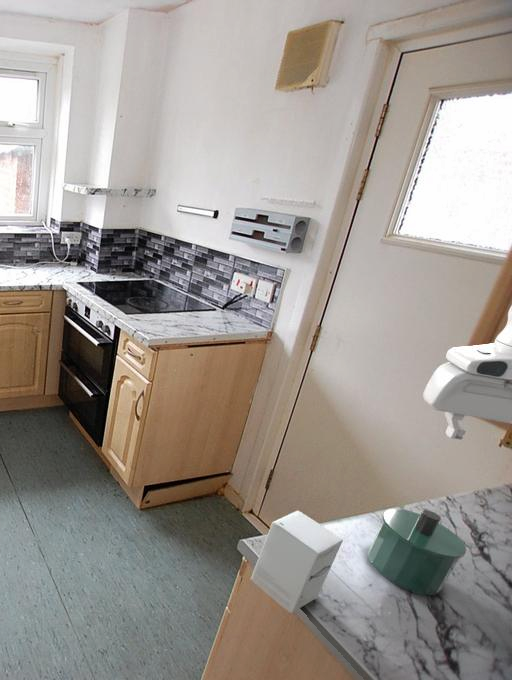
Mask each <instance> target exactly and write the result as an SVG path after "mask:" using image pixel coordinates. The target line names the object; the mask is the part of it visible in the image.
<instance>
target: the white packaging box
mask: <svg viewBox="0 0 512 680" xmlns="http://www.w3.org/2000/svg"><path fill="white" fill-rule="evenodd" d="M343 541H344V539H343V538H342V537H340V536H339V535H337V534H336V533H335V532H333V531H332V530H331V529H328V528H326V527H325V526H323V525H322V524H321V523H319V522H317V521H316V520H314V519H313V518H311V517H309V516H308V515H306V514H305V513H303V512H302V511H300V510H295V511H293V512H291V513H288V514H287V515H284V516H282V517H281V518H278V519H276V520H274V521H272V522H271V525H270V527H269V530H268V533H267V535H266V538H265V541H264V543H263V545H262V548H261V551H260V554H259V556H258V559H257V561H256V564H255V566H254V570H253V571H252V574H251V577H250V581H251V582H253V583H254V584H255V585H256V586H257V587H258V588H259V589H261V590H262V591H263V592H264V593H265V594H267V595H268V596H269V597H270V598H271V599H273V600H274V601H275V602H276V603H277V604H278V605H280V606H281V607H282V608H283V609H284V610H285V611H286V612H288V613H289V614H291V615H292V614H294V613H295V612H297V611H298V610H299V609H301V608H302V607H304V606H306V605H307V604H308V603H310V602H313V601H314V600H316V599H318V596H319V594H320V593H321V589H322V588H323V586H324V583H325V581H326V579H327V577H328V575H329V573H330V571H331V568H332V567H333V563H334V562H335V559H336V557H337V555H338V553H339V550H340V548H341V545H342V543H343Z"/></svg>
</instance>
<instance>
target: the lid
mask: <svg viewBox="0 0 512 680" xmlns="http://www.w3.org/2000/svg"><path fill="white" fill-rule="evenodd" d="M441 520H442V518H441V516H440V515H439V514H437V513H436V512H434V511H431V510H429V509H423V510H422V511H421V513H417V512H414V511H410V510H407V509H402V508H389V509H387V510H385V511H384V512H383V514H382V522H384V524H385V525H386V526H387V528H388V529H389V530H390V531H391V532H392V533H394V534H395V535H396V536H397V537H399V538H400V539H402V540H403V541H405V542H406V543H408V544H410V545H411V546H413V547H415V548H417V549H419V550H422V551H424V552H426V553H429V554H432V555H435V556H438V557H442V558H448V559H458V558H459V559H462V558H463V557H464V556H465V555H466V553H467V547H466V545H465V543H464V541H463V540H462V539H461V538H460V537H459V536H458V535H457V534H456V533H455V532H454V531H452V530H450V529H449V528H447V527H446V526H445V525H443V524H441V523H440V522H441Z"/></svg>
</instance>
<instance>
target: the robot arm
mask: <svg viewBox="0 0 512 680" xmlns="http://www.w3.org/2000/svg"><path fill="white" fill-rule="evenodd" d="M445 359H447V360H448V362H445V363H442V364H441V365H439V366H438V367H437V368H435V370H434V372H433V373H432V375H431V377H430V379H429V380H428V382H427V384H426V386H425V388H424V390H423V393H422V399H423V400H424V402H425V403H426V404H427V405H428V406H429V407H430V408H432V409H433V410H435V411H437V412H443V413H444V416H445V419H446V422H447V428H446V430H445V435H446V436H447V437H448V438H450V439H454V440H461V441H462V440H463V438H464V436H465V435H466V432H467V431H466V430H465V429H464V428H462V427H461V426H460V425H459V421H463V420H464V418H465V416H466V417H473V418H479V419H482V420H483V419H484V420H489V421H495V422H501V423H505V424H506V423H507V424H512V304H511V305H510V307H509V309H508V312H507V322H506V324H505V326H504V328H503V329H502V330H501V331H500V332H499V334H497V336H496V337H495V340H494V342H493V343H487V344H479V345H469V346H458V347H452V348H449V349H448V350H447V352H446V355H445Z"/></svg>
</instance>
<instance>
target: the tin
mask: <svg viewBox="0 0 512 680" xmlns="http://www.w3.org/2000/svg"><path fill="white" fill-rule="evenodd" d="M367 559H368V561H369V563H370V564H371V566H372V567H373V568H374V569H375V570H376V571H377V572H378V573H379V574H381V576H382V577H384V578H385V579H387V580H388V581H389V582H391V583H393V584H394V585H396V586H398V587H399V588H402V589H404V590H406V591H408V592H411V593H415V594H418V595H423V596H435V595H437V594H439V593H440V592H441V590H442V589H443V588H444V586H445V584H446V583H447V581H448V579H449V577H450V575H451V574H452V572H453V570H454V568H456V565H457V563H458V561H459V560H460V558H458V559H448V558H442V557H438V556H435V555H432V554H429V553H426V552H424V551H422V550H419V549H417V548H415V547H413V546H411V545H410V544H408V543H406V542H405V541H403V540H402V539H400V538H399V537H397V536H396V535H395V534H394V533H392V532H391V531H390V530H389V529H388V528H387V526H386V525H385V524H384V522H383V521H382V522H381V525H380V526H379V528H378V531H377V532H376V535H375V536H374V539H373V540H372V543H371V545H370V547H369V550H368V552H367Z"/></svg>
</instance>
